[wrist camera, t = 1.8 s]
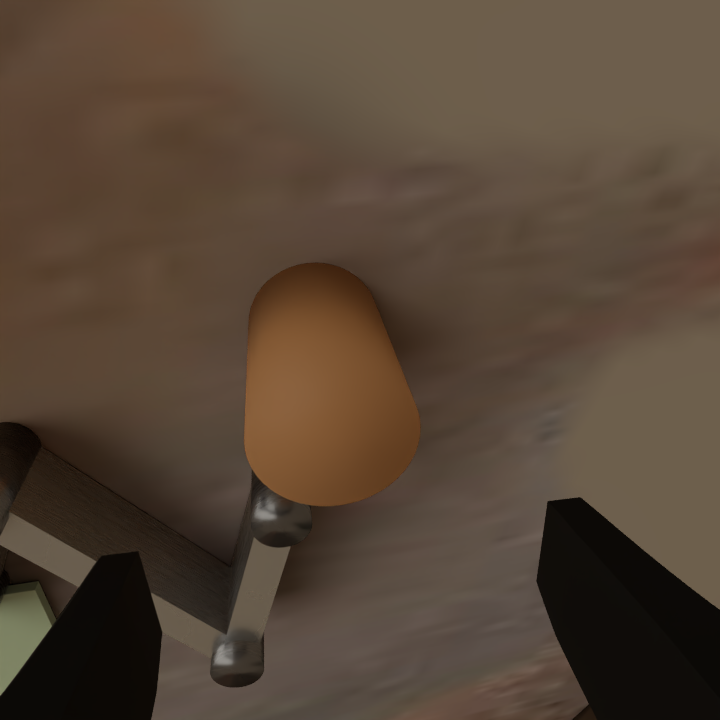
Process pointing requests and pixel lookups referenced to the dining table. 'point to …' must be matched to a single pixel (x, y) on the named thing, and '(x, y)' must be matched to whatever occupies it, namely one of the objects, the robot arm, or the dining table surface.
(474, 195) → the dining table surface
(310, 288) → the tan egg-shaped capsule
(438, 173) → the dining table surface
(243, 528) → the bent rail
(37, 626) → the pad
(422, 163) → the dining table surface
